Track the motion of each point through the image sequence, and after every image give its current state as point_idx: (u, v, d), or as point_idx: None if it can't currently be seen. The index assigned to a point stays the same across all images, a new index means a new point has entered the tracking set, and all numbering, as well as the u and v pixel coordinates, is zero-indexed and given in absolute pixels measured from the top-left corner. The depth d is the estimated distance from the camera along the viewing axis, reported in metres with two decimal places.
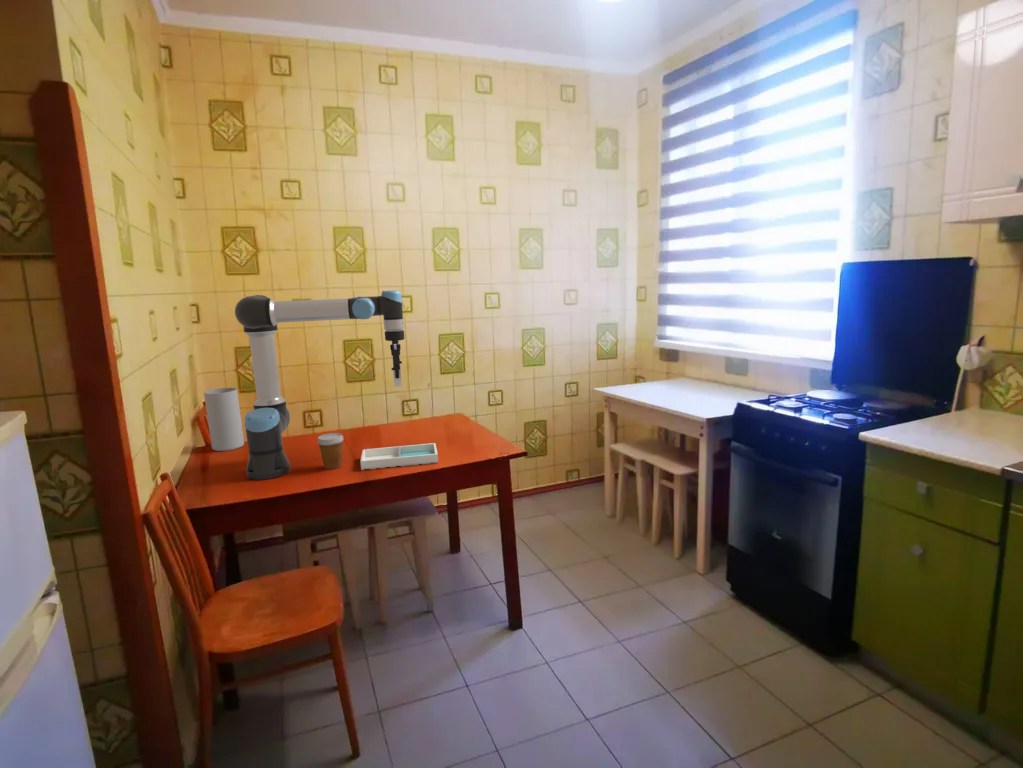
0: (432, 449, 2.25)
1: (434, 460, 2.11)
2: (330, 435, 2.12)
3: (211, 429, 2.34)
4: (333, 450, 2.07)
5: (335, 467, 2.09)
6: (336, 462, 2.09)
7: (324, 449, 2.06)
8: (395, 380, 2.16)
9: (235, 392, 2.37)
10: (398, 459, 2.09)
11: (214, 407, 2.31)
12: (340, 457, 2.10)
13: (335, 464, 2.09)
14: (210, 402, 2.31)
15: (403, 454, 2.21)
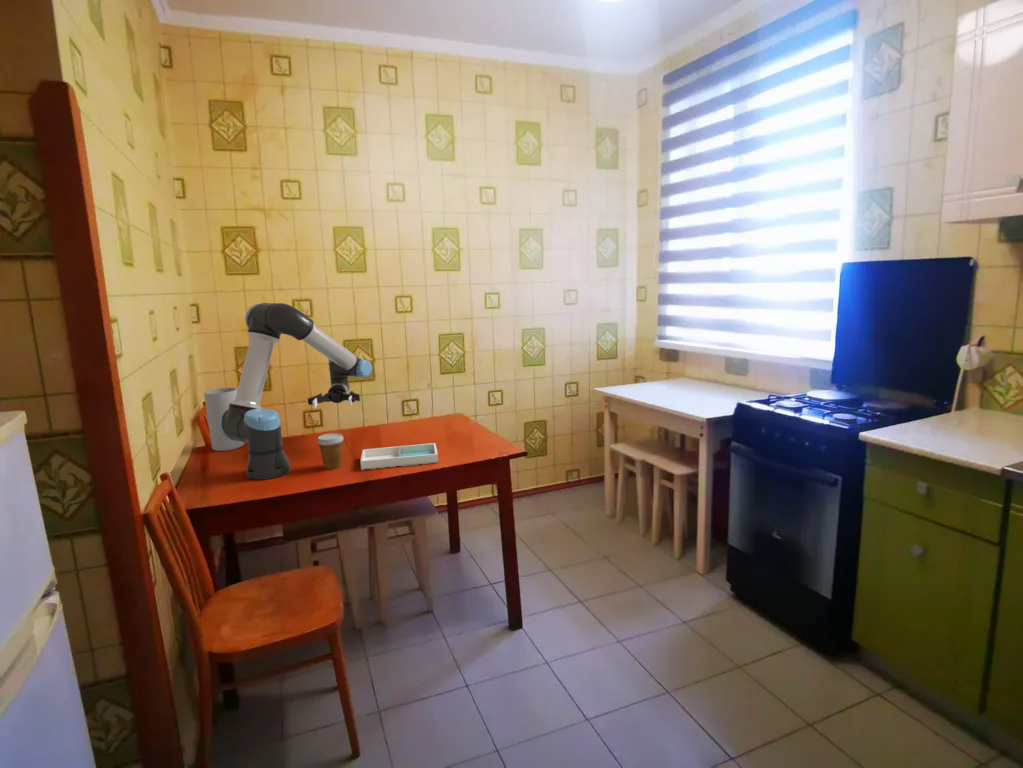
0: (432, 449, 2.25)
1: (434, 460, 2.11)
2: (330, 435, 2.12)
3: (211, 429, 2.34)
4: (333, 450, 2.07)
5: (335, 467, 2.09)
6: (336, 462, 2.09)
7: (324, 449, 2.06)
8: (351, 399, 2.23)
9: (235, 392, 2.37)
10: (398, 459, 2.09)
11: (214, 407, 2.31)
12: (340, 457, 2.10)
13: (335, 464, 2.09)
14: (210, 402, 2.31)
15: (403, 454, 2.21)
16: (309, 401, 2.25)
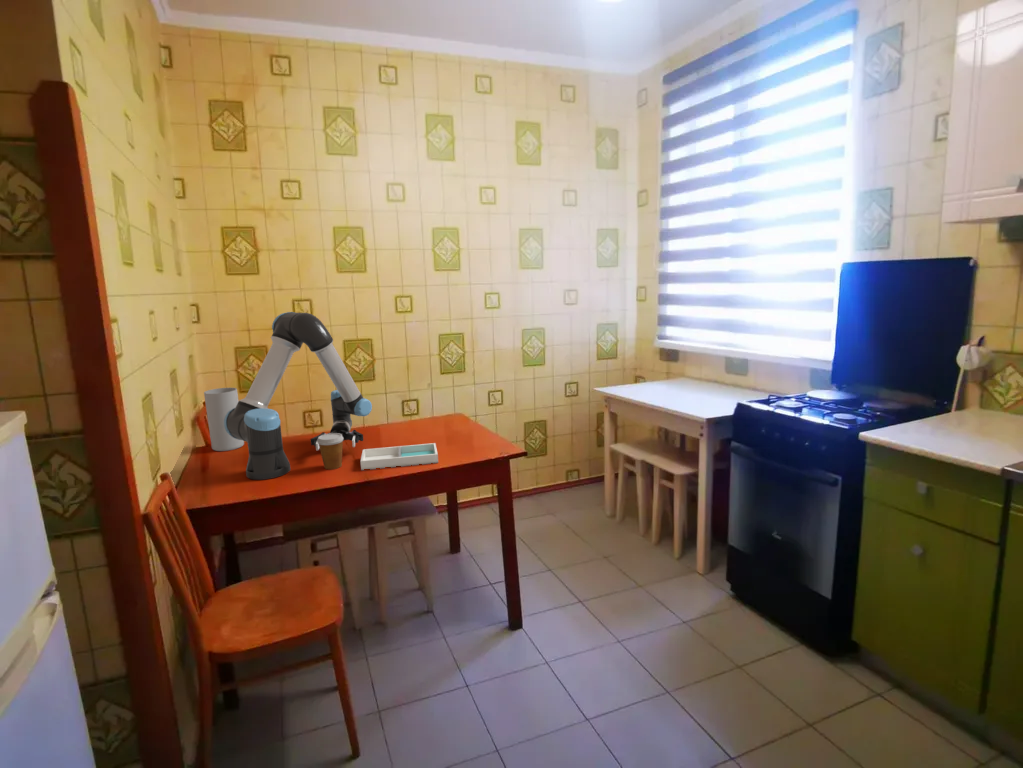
0: (432, 449, 2.25)
1: (434, 460, 2.11)
2: (330, 435, 2.12)
3: (211, 429, 2.34)
4: (333, 450, 2.07)
5: (335, 467, 2.09)
6: (336, 462, 2.09)
7: (324, 449, 2.06)
8: (354, 440, 2.20)
9: (235, 392, 2.37)
10: (398, 459, 2.09)
11: (214, 407, 2.31)
12: (340, 457, 2.10)
13: (335, 464, 2.09)
14: (210, 402, 2.31)
15: (403, 454, 2.21)
16: (312, 442, 2.22)
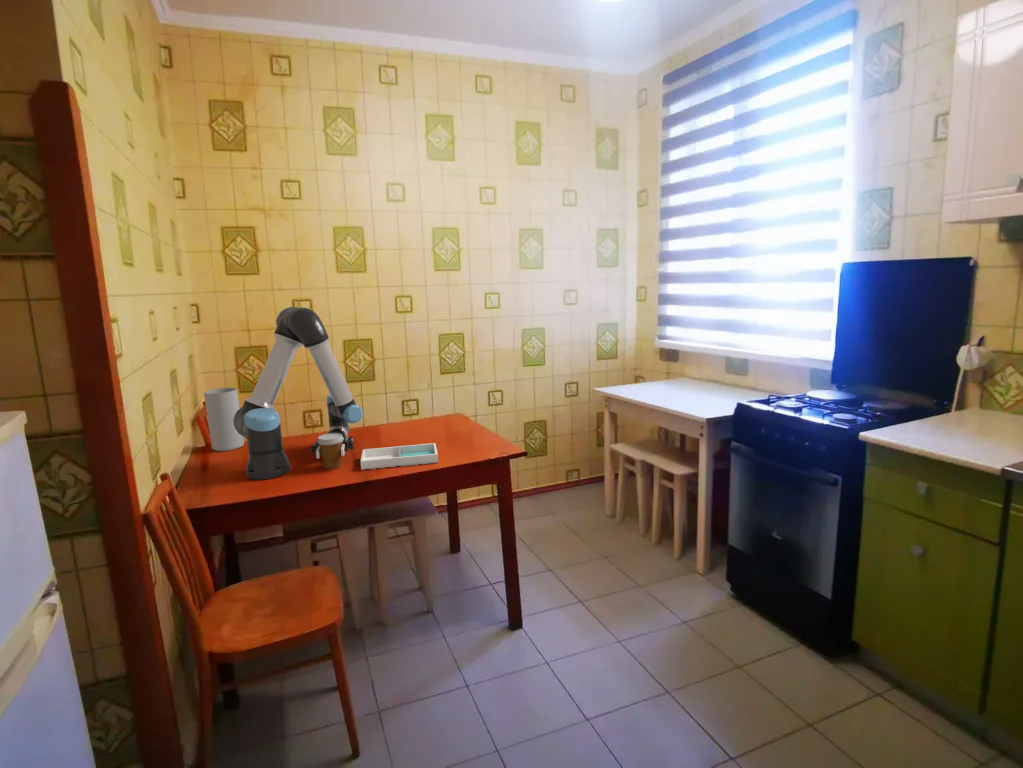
0: (432, 449, 2.25)
1: (434, 460, 2.11)
2: (330, 435, 2.12)
3: (211, 429, 2.34)
4: (333, 450, 2.07)
5: (335, 467, 2.09)
6: (336, 462, 2.09)
7: (324, 449, 2.06)
8: (343, 449, 2.09)
9: (235, 392, 2.37)
10: (398, 459, 2.09)
11: (214, 407, 2.31)
12: (340, 457, 2.10)
13: (335, 464, 2.09)
14: (210, 402, 2.31)
15: (403, 454, 2.21)
16: (312, 449, 2.11)
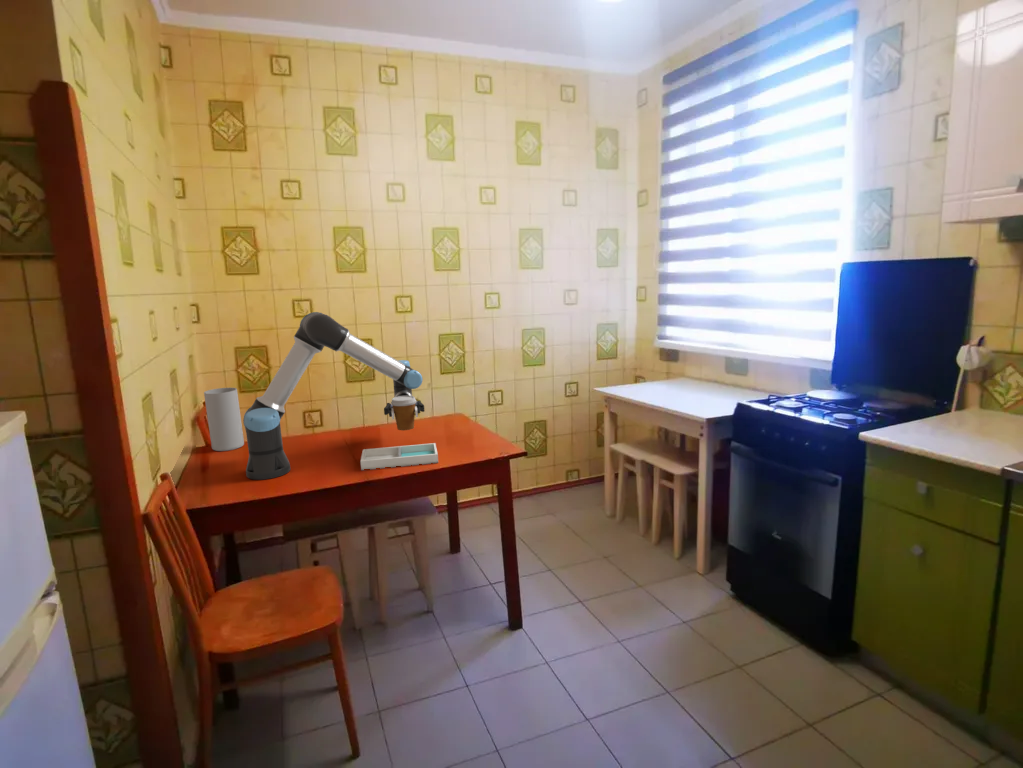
0: (432, 449, 2.25)
1: (434, 460, 2.11)
2: (402, 397, 2.16)
3: (211, 429, 2.34)
4: (408, 411, 2.11)
5: (409, 428, 2.13)
6: (410, 424, 2.13)
7: (399, 410, 2.10)
8: (417, 410, 2.13)
9: (235, 392, 2.37)
10: (398, 459, 2.09)
11: (214, 407, 2.31)
12: (413, 419, 2.14)
13: (409, 425, 2.13)
14: (210, 402, 2.31)
15: (403, 454, 2.21)
16: (385, 411, 2.15)
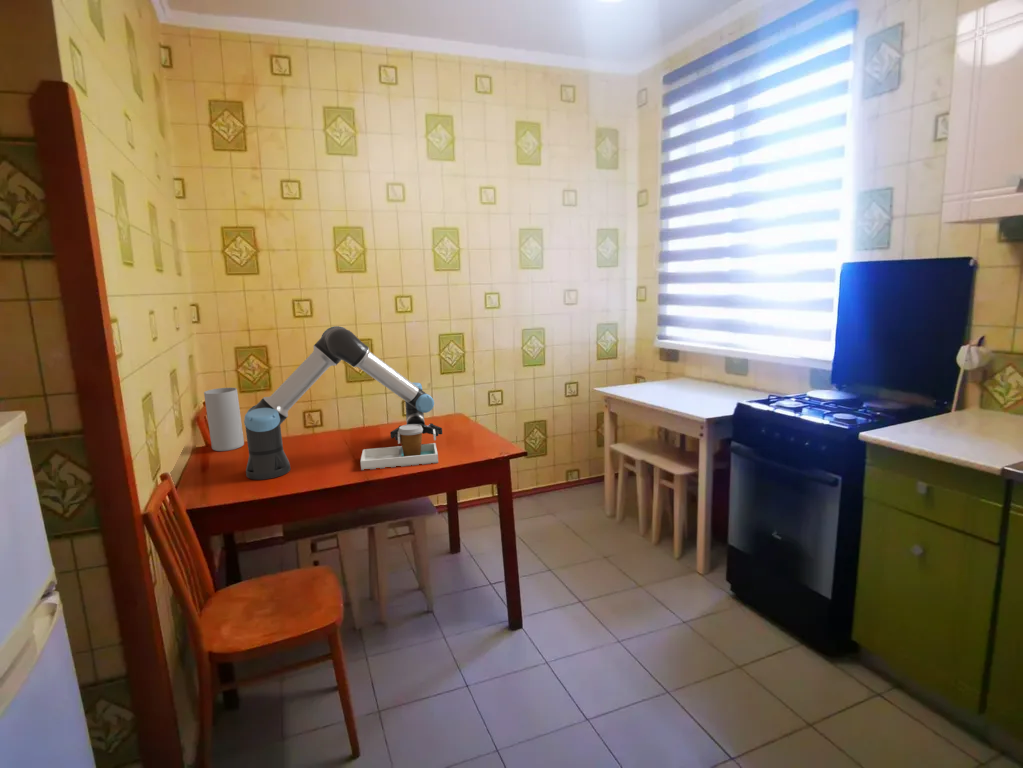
0: (432, 449, 2.25)
1: (434, 460, 2.11)
2: (410, 426, 2.18)
3: (211, 429, 2.34)
4: (414, 440, 2.13)
5: None
6: (416, 452, 2.14)
7: (405, 439, 2.12)
8: (435, 433, 2.17)
9: (235, 392, 2.37)
10: (398, 459, 2.09)
11: (214, 407, 2.31)
12: (420, 447, 2.16)
13: (415, 454, 2.14)
14: (210, 402, 2.31)
15: (403, 454, 2.21)
16: (392, 435, 2.19)
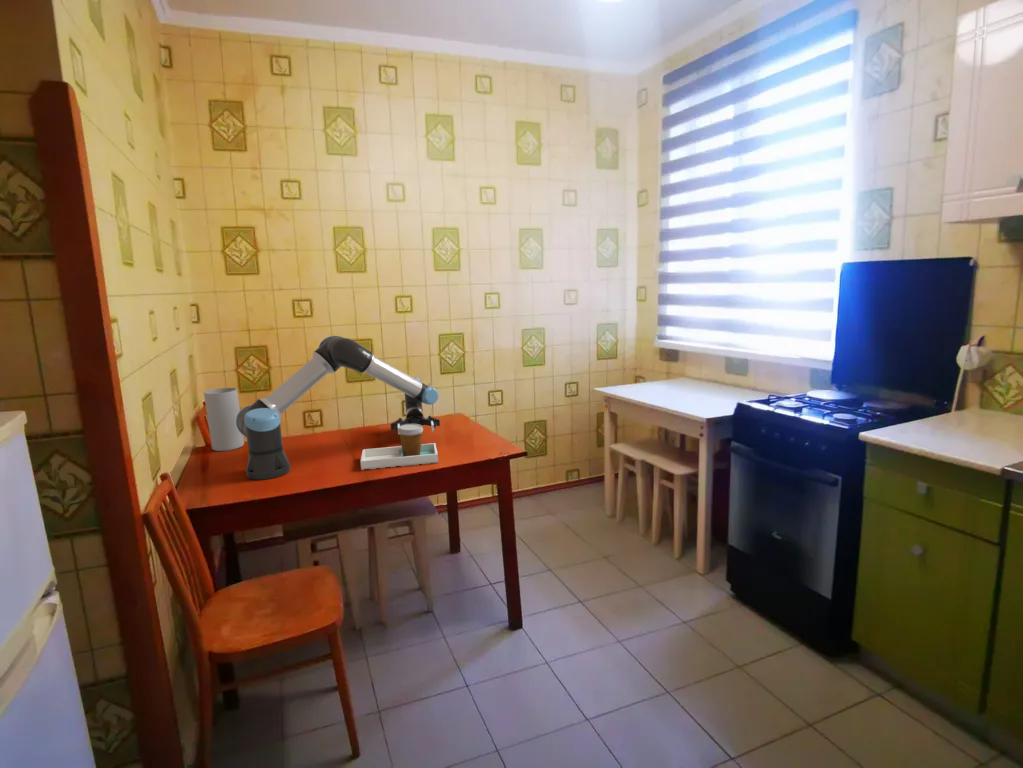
0: (432, 449, 2.25)
1: (434, 460, 2.11)
2: (411, 425, 2.17)
3: (211, 429, 2.34)
4: (413, 440, 2.12)
5: None
6: (415, 453, 2.14)
7: (404, 439, 2.12)
8: None
9: (235, 392, 2.37)
10: (398, 459, 2.09)
11: (214, 407, 2.31)
12: (419, 448, 2.16)
13: (414, 454, 2.14)
14: (210, 402, 2.31)
15: None
16: (392, 426, 2.31)
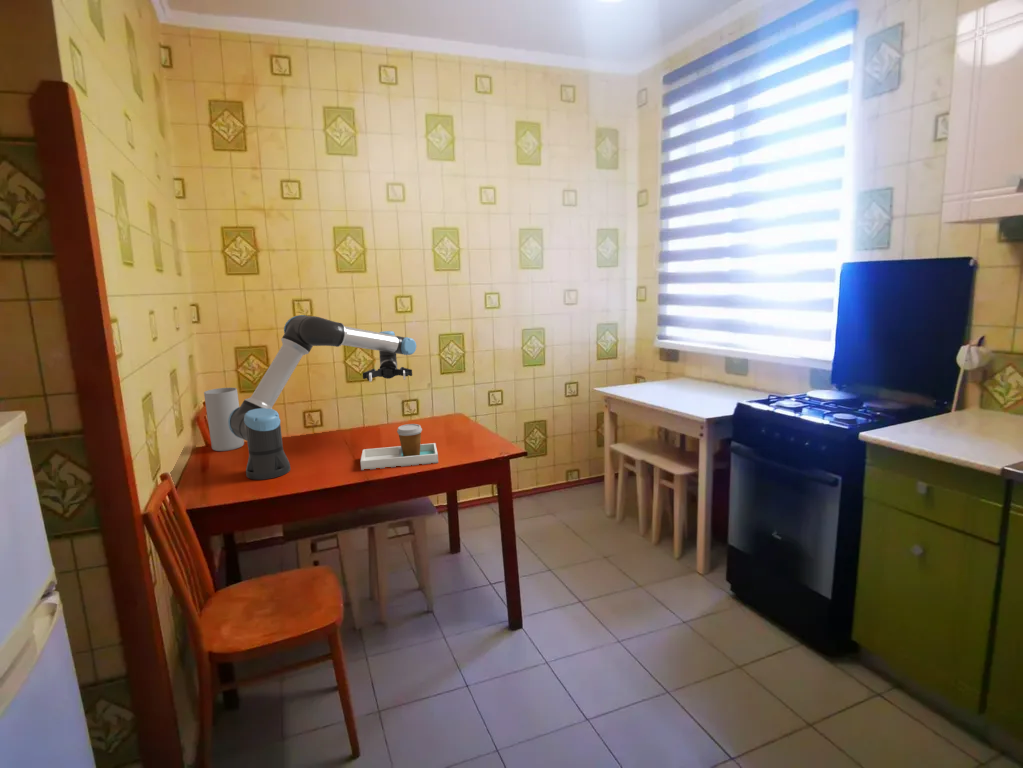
0: (432, 449, 2.25)
1: (434, 460, 2.11)
2: (409, 426, 2.17)
3: (211, 429, 2.34)
4: (412, 440, 2.12)
5: None
6: (414, 453, 2.14)
7: (403, 439, 2.12)
8: (405, 373, 2.29)
9: (235, 392, 2.37)
10: (398, 459, 2.09)
11: (214, 407, 2.31)
12: (419, 448, 2.16)
13: (413, 454, 2.14)
14: (210, 402, 2.31)
15: None
16: (364, 375, 2.31)
